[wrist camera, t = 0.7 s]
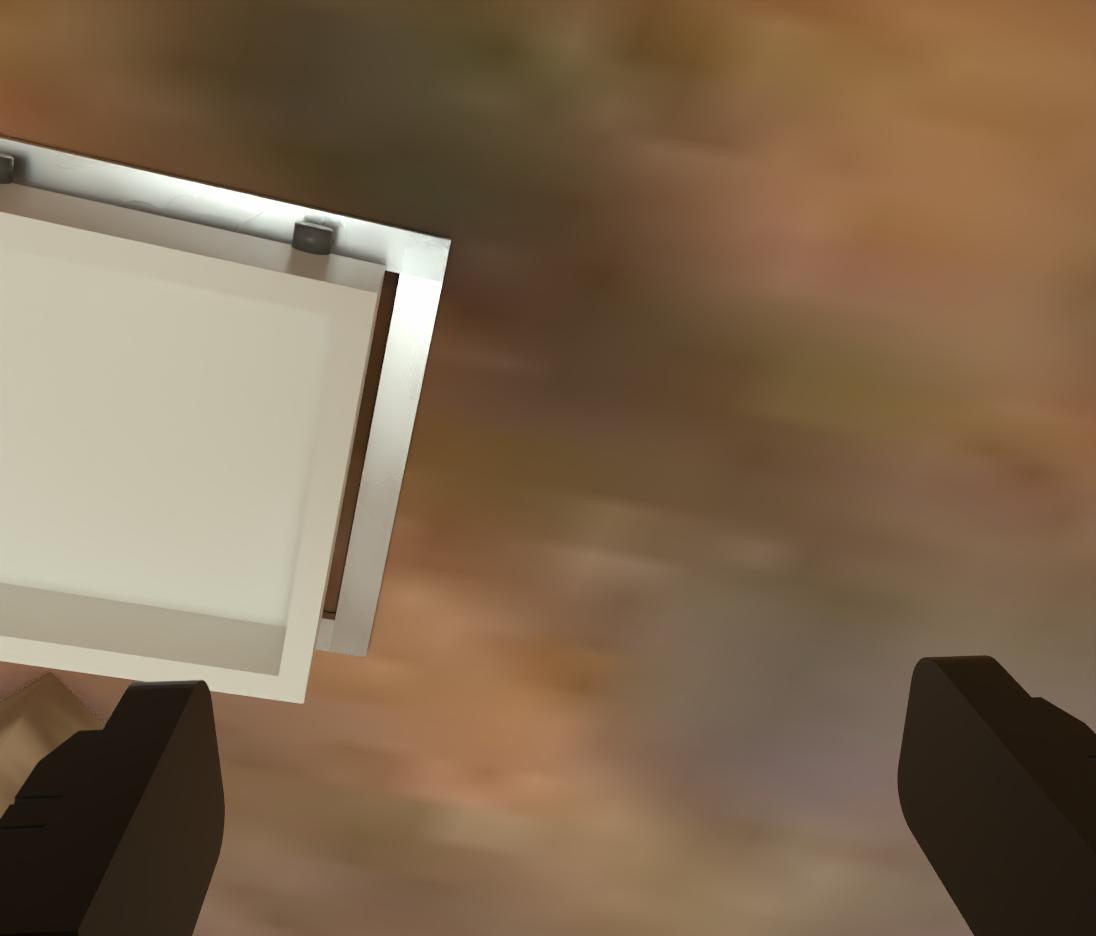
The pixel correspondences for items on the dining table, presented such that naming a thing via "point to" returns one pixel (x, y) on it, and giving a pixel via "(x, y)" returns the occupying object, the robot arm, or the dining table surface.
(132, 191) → the track
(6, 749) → the block
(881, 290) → the dining table surface
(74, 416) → the shallow white tray
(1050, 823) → the robot arm
